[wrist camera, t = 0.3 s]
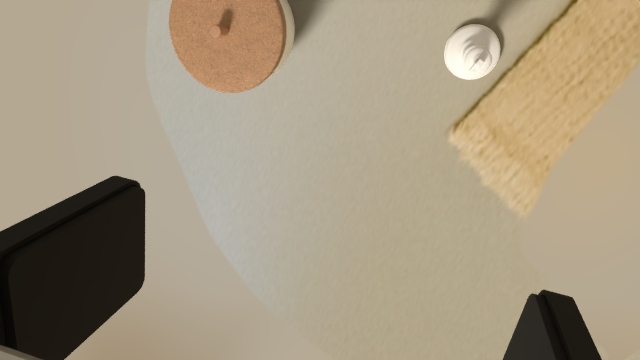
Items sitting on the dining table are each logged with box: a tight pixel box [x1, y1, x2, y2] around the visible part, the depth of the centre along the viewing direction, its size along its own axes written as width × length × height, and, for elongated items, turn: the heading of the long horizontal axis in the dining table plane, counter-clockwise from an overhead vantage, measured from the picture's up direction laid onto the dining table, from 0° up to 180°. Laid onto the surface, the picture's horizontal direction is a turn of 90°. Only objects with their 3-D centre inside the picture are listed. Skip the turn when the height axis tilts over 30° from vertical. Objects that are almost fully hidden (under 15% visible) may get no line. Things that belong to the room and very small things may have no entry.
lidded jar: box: [169, 0, 295, 93], centre depth 41 cm, size 11×11×9 cm
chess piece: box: [444, 24, 501, 80], centre depth 37 cm, size 5×5×10 cm
